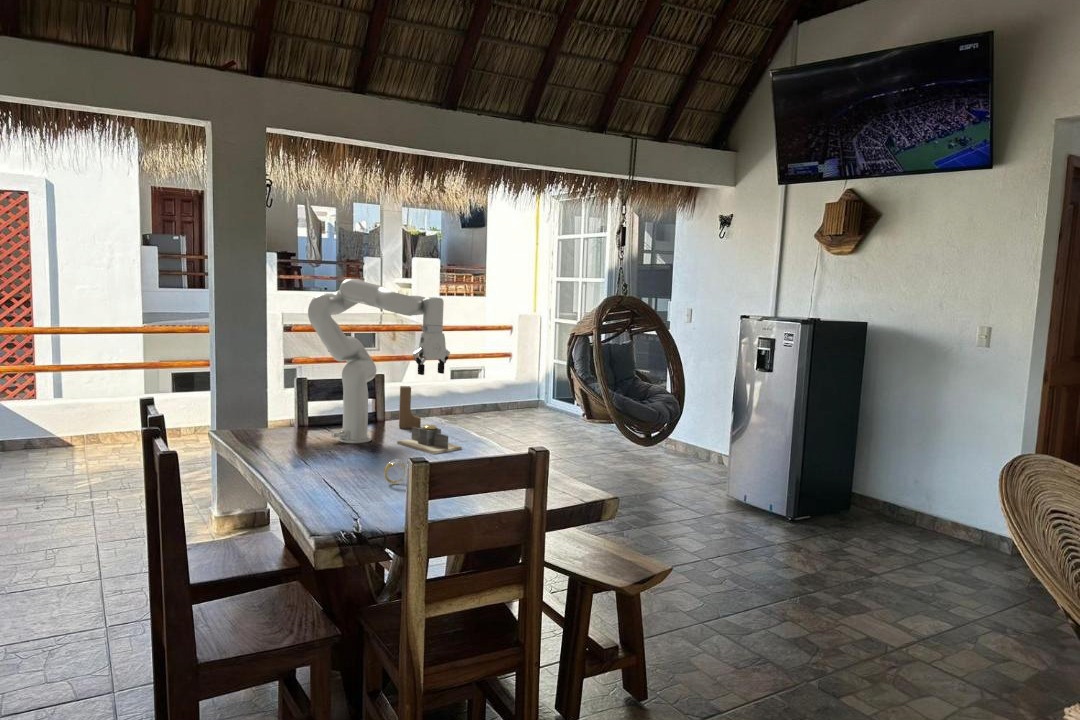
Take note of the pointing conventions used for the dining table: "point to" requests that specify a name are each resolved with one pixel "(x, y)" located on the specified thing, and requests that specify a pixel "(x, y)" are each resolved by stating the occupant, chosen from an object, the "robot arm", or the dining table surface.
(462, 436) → the dining table surface
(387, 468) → the ring
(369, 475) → the dining table surface
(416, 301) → the robot arm
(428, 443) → the hinge base
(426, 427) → the round gold knob
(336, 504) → the dining table surface
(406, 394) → the wooden block
